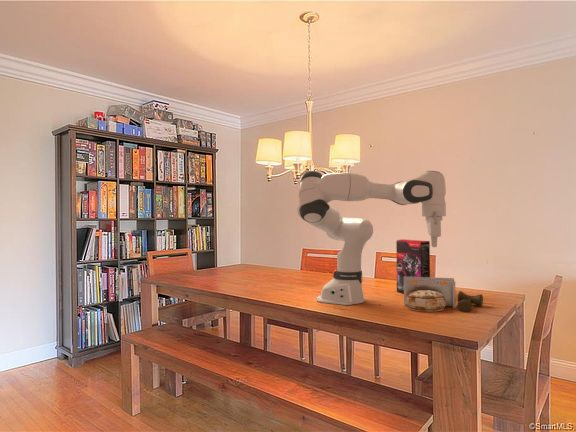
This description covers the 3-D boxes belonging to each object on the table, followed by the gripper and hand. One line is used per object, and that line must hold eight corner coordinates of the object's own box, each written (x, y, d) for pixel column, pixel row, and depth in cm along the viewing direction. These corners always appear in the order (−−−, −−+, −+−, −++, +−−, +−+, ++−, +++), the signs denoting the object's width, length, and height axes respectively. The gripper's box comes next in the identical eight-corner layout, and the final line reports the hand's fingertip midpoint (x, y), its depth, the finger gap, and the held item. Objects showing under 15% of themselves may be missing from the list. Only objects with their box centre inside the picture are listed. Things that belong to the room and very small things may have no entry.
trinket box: (451, 310, 155) (451, 291, 155) (423, 315, 149) (423, 295, 149) (427, 303, 168) (427, 286, 167) (401, 307, 161) (400, 289, 161)
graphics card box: (395, 292, 192) (394, 239, 192) (405, 290, 195) (404, 238, 195) (421, 298, 177) (420, 241, 177) (431, 296, 180) (430, 240, 180)
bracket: (404, 305, 164) (403, 278, 164) (404, 302, 169) (403, 276, 169) (455, 308, 158) (455, 280, 158) (453, 305, 163) (453, 278, 163)
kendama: (451, 311, 155) (461, 301, 171) (476, 316, 149) (484, 304, 165) (451, 297, 155) (461, 288, 171) (476, 301, 149) (485, 291, 165)
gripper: (444, 212, 136) (445, 249, 136) (440, 211, 156) (440, 244, 156) (426, 212, 138) (427, 249, 138) (424, 212, 158) (424, 244, 158)
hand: (434, 246), depth 147 cm, fingers closed
